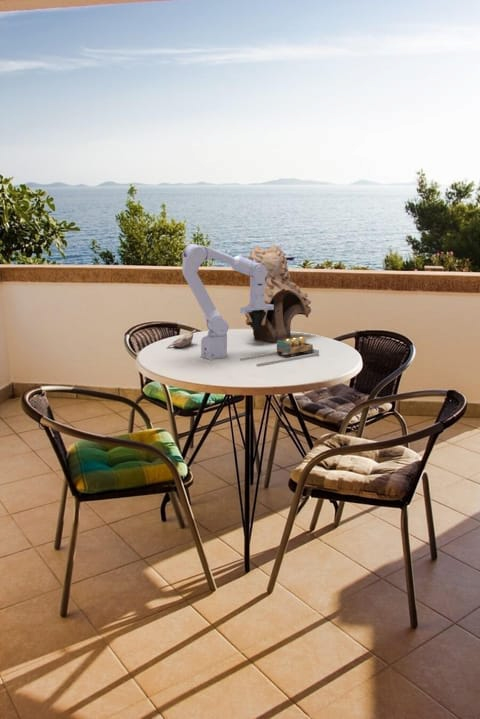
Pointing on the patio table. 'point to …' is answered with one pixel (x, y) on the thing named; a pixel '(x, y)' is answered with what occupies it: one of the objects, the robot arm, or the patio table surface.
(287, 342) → the part
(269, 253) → the bust
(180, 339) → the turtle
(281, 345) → the cart
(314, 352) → the track
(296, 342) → the part
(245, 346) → the patio table surface
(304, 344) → the part
